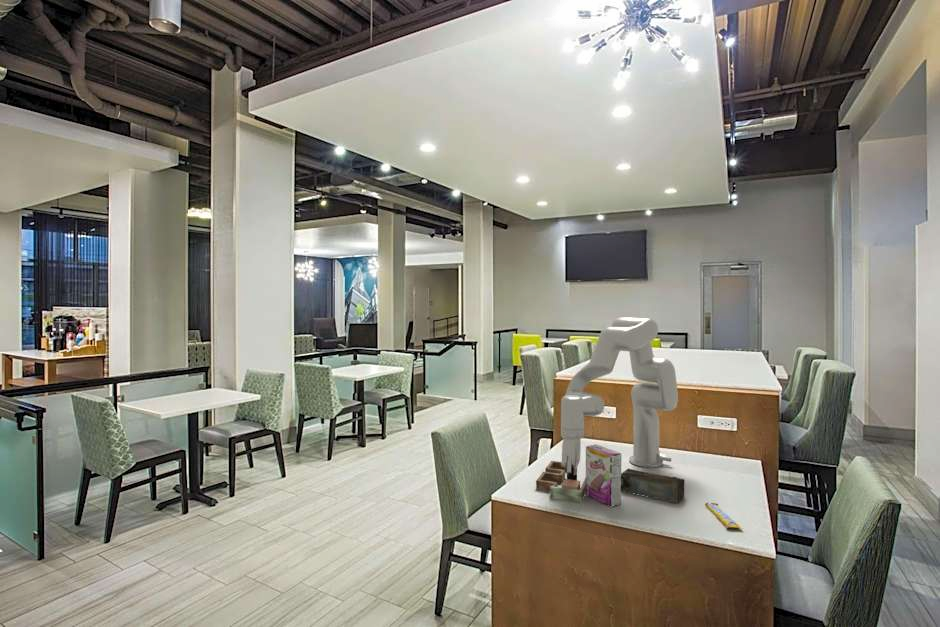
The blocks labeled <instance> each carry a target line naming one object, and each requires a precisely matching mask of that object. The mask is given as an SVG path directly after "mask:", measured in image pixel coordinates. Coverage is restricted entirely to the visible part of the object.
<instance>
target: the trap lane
mask: <svg viewBox="0 0 940 627" xmlns="http://www.w3.org/2000/svg"><path fill="white" fill-rule="evenodd" d="M561 463H562V461H556V460H551V461H550V462H549V463H548V464H547V466H546V467H545V471H542V472H541V474H540V475H539V476H538V478H537V479H536V481H535V482H536V484H535V486H536V487H535V489H536V490H537V491H538V490H539V491H545V492H549V498H550V499H553V498H554V499H553V500H559V499H560V501H566V500H568V501H567V502H572V501H574V503H579V502H581V503H583V500H584V498H583V497H585V496H586V477H585V478H584V481H583V482H582V484H581V485H580V490H575V489H568V488H562V486H561V487H559V484H561V483H562V484H563V482H564V479H566V474H567V464H566V465H565V467H562V466H561ZM584 495H585V496H584Z"/></svg>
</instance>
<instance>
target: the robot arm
mask: <svg viewBox="0 0 940 627" xmlns="http://www.w3.org/2000/svg"><path fill="white" fill-rule="evenodd" d="M611 325H612V326H608V327H605V328H603V329H602V330H601V332H600V334H599V336H598V339H597V341H596V344H595V346H594V349H593V352H592V355H591V356H590V357H591V358H590V360H589V362H588V363H586V365H584V366H583V367H582V368H581V369H580V370H578V371H577V372H576V373H575V375H573V377H572V378H571V379H570V382H569V384H568V386H567V388H566V392H565V395H564V396H562V397H561V400H560V401H561V402H560V405H561V406H560V411H561V412H560V416H561V417H560V436H561V438H562V446H561V462H562V463H561V466H562V467H565V465H566V464H567V471H566V479H570V480H578V466H579V464H580V462H581V455H582V454H581V453H582V451H581V450H582V448H581V446H582V445H581V442H582V441H581V440H582V439H584V431H585V430H584V426H585V425H584V424H585V421H584V420H585V418H584V417H596V416H599V415H601V414H602V413H603V411H604V409H605V407H606V406H605V404H606V403H605V400H604V399H603V397H601V396H600V395H598V394H595V393H591V392H585V391H584V389H585V387H586V386H587V385H588V384H589V383H590V382H592V381H594V380H597V379H599V378H601V377H604V376H607V375H609V374H611V373H612V372H614V367H615V365H616V362H617V359H618V357H619V354H620V352H629V357H630V366H631V372H632V375H633V378H635V379H636V380H638V381H641V382H638V383H635V384H634V385H633V386H632V388H631V393H630V397H631V402H632V407H633V445H632V446H633V449H632V450H633V451H632V452H633V455H631V456H630V457H629V458H628V459H629V460H628V461H629V463H631V464H633V465H635V466H637V467H642V468H659V467H663V465H664V461H665V462H672V456H669V455H668V454H662V453H661V450H660V417H659V416H660V415H659V413H658V412H657V410H660V411H667V412H670V411H671V412H672V411H673V410H675V409H676V408H677V406H678V403H679V393H678V385H677V375H676V374H677V373H676V370H675V366H674V364H673V363H672V361H671V360H670V359H667V358H662V357H656V356H655V355H654V351H653V346H652V342H653V341H654V340H655V339H656V337H657V336H658V333H659V326H658V323H657V321H655V320H653V319H652V318H648V317H647V318H646V317H630V316H629V317H627V316H626V317H623V316H622V317H617V318H616V319H614V320H613V322H612V324H611ZM642 381H643V382H642Z"/></svg>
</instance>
